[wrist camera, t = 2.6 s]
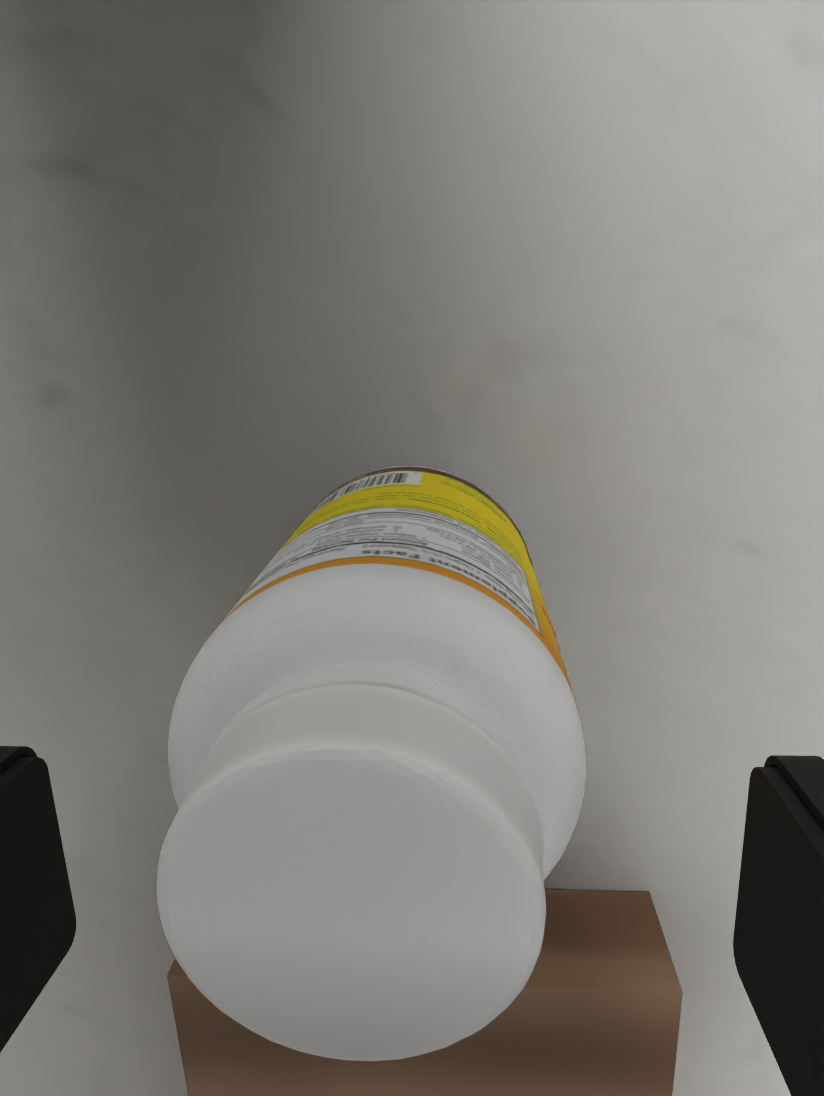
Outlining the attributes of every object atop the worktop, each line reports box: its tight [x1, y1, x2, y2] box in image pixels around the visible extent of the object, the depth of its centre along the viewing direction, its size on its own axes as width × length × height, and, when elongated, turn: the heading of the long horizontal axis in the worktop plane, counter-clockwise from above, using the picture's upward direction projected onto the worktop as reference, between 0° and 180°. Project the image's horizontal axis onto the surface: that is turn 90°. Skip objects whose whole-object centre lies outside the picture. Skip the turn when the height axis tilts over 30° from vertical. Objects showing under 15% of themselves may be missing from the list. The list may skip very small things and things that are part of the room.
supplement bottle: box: [156, 466, 586, 1061], centre depth 12 cm, size 6×6×10 cm
